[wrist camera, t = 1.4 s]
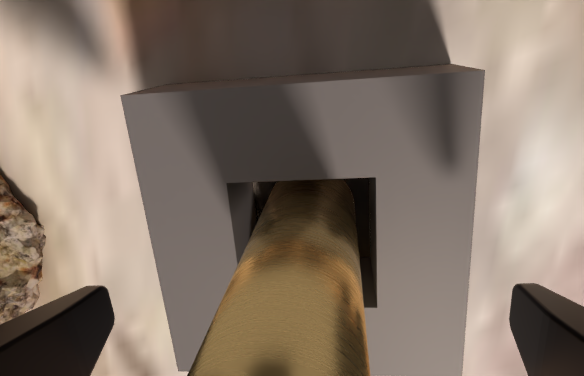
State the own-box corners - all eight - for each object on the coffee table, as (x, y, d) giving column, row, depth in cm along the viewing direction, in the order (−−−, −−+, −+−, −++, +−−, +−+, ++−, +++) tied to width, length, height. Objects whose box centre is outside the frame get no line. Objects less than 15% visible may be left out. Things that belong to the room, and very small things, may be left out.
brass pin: (353, 164, 14) (375, 360, 5) (355, 244, 15) (377, 519, 6) (265, 167, 14) (153, 356, 6) (272, 246, 15) (188, 507, 7)
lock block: (451, 64, 12) (484, 70, 9) (439, 315, 15) (462, 377, 12) (166, 84, 13) (120, 95, 11) (206, 314, 16) (178, 371, 14)
